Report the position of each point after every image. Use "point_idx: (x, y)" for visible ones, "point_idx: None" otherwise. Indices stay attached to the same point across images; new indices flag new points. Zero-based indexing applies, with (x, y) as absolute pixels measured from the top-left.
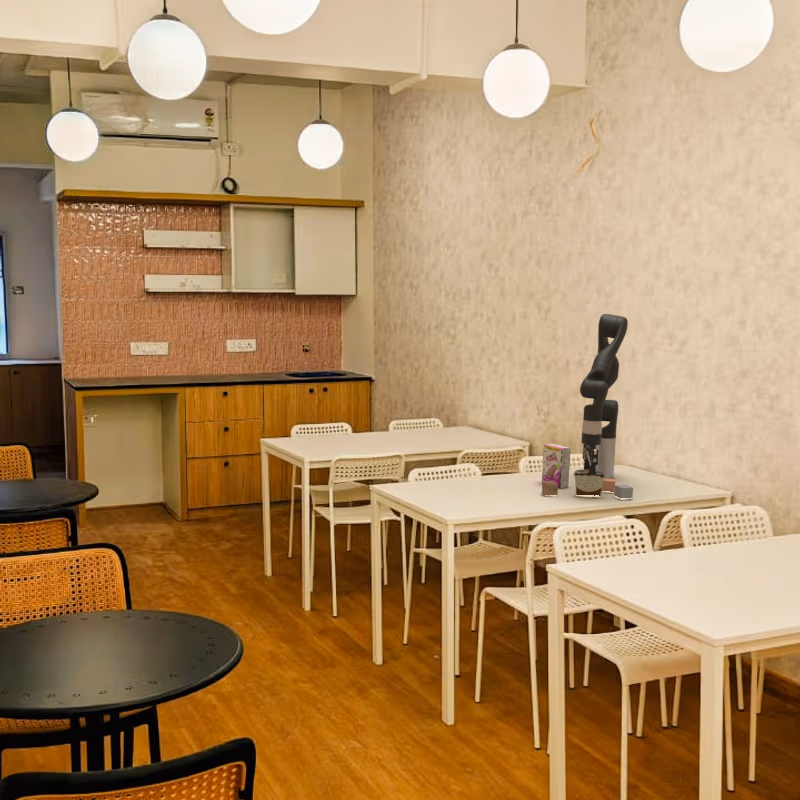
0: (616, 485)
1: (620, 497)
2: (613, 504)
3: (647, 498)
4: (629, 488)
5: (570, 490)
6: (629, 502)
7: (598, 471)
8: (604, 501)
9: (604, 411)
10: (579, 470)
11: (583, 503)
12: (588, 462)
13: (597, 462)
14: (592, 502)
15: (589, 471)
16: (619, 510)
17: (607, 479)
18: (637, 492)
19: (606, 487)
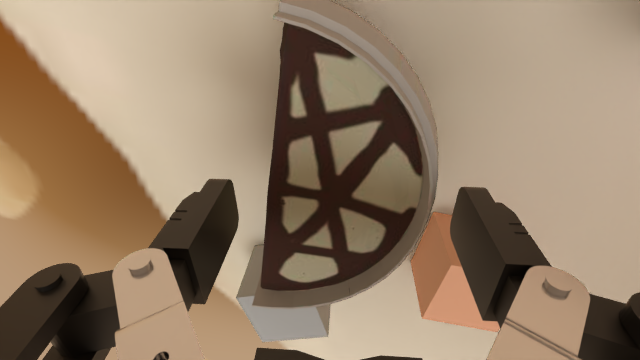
0: None
1: (256, 255)
2: (153, 191)
3: (314, 339)
4: (255, 325)
5: (545, 27)
6: (222, 265)
7: (353, 287)
8: (212, 167)
9: None
10: (411, 120)
11: (109, 18)
12: (486, 299)
13: (50, 356)
14: (163, 91)
15: (210, 197)
16: (27, 181)
17: None
18: (428, 342)
19: (431, 254)
